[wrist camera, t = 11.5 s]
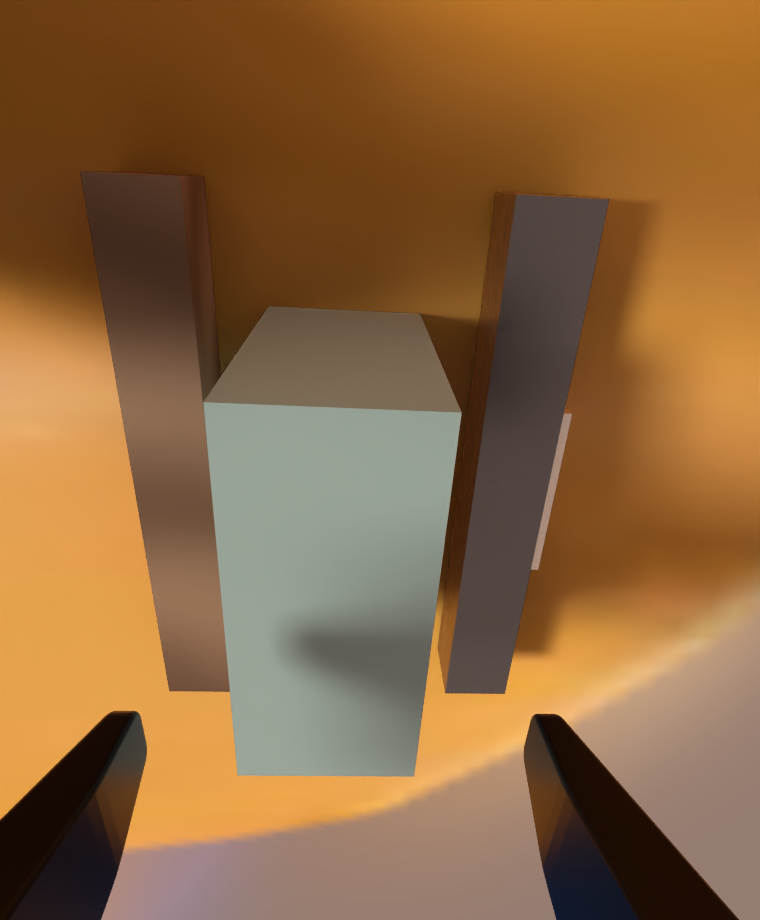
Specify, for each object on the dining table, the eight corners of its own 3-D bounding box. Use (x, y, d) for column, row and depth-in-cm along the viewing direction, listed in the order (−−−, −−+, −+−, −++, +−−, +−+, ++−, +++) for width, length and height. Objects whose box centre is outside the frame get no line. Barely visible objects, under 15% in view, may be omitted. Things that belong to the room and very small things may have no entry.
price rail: (496, 191, 14) (516, 194, 12) (589, 196, 14) (623, 199, 12) (437, 647, 20) (445, 693, 19) (500, 648, 21) (513, 693, 19)
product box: (277, 576, 19) (237, 775, 13) (268, 305, 15) (203, 401, 9) (402, 579, 19) (422, 776, 13) (427, 313, 15) (474, 412, 9)
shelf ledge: (117, 171, 13) (80, 171, 11) (203, 176, 13) (180, 176, 12) (186, 644, 20) (169, 691, 18) (243, 645, 20) (232, 691, 18)
